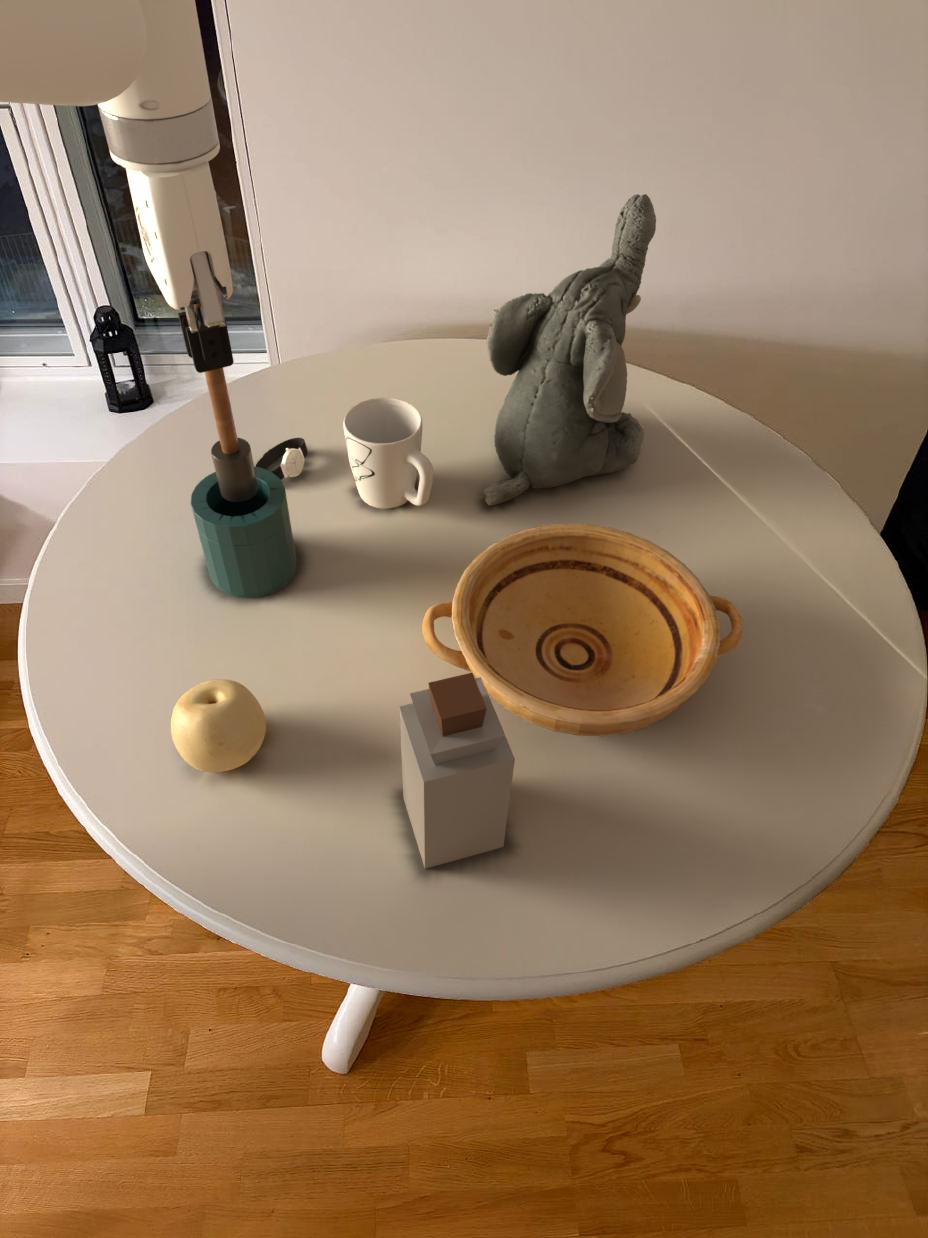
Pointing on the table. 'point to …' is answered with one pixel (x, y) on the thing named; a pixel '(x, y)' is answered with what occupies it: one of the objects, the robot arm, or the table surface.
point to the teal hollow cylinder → (246, 536)
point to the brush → (229, 444)
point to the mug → (387, 452)
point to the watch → (286, 458)
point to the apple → (218, 725)
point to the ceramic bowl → (584, 628)
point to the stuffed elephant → (570, 369)
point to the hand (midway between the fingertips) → (210, 358)
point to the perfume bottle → (455, 770)
